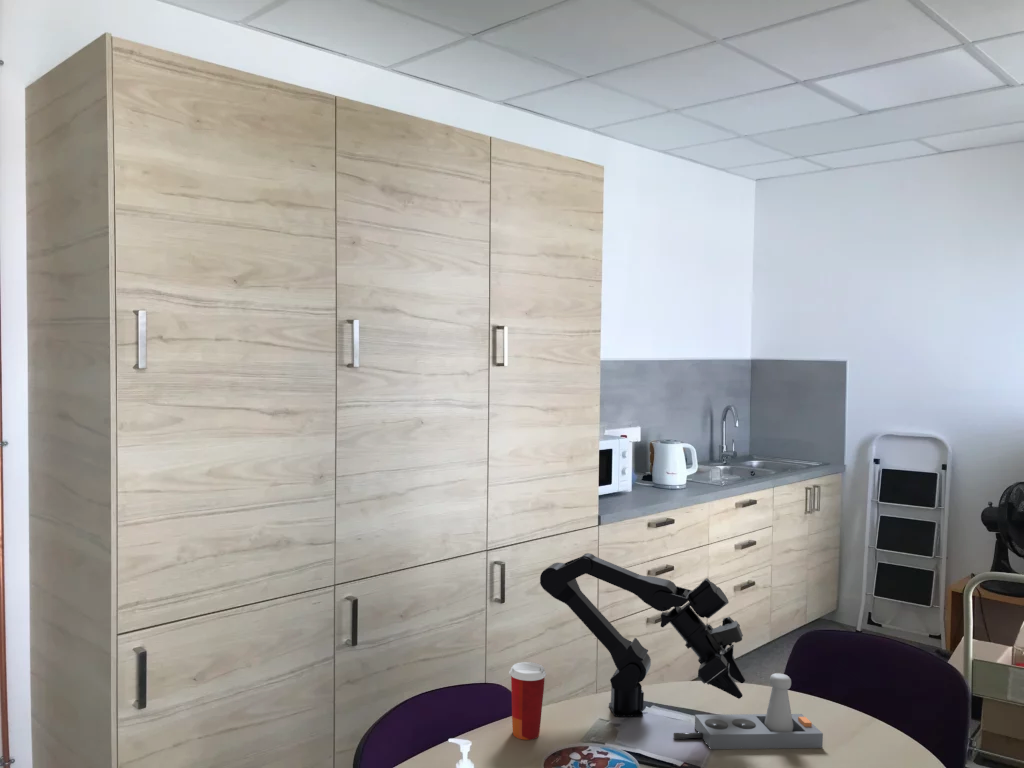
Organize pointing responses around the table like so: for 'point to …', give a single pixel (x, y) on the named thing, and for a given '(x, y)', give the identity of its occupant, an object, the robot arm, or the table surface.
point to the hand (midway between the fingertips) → (742, 689)
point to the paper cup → (527, 699)
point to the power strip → (752, 732)
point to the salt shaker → (779, 705)
